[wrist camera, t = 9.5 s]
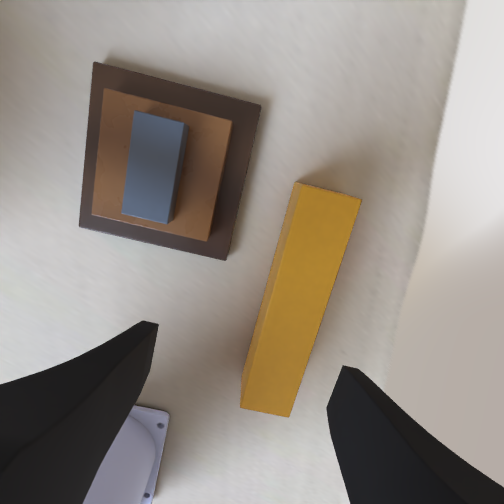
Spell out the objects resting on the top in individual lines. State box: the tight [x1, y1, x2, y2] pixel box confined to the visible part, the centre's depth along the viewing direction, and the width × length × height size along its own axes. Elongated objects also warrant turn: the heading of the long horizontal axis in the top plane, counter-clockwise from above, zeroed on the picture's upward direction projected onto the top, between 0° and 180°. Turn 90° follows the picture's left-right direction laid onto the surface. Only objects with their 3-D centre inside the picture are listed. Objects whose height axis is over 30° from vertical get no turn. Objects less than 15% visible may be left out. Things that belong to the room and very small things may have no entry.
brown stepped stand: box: [79, 62, 261, 261], centre depth 16 cm, size 9×9×3 cm
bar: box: [240, 182, 362, 417], centre depth 19 cm, size 14×3×3 cm, turn 166°
